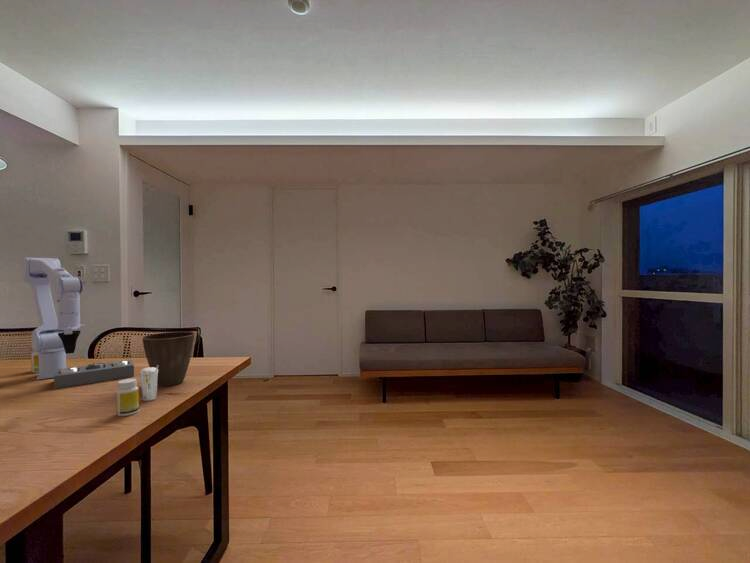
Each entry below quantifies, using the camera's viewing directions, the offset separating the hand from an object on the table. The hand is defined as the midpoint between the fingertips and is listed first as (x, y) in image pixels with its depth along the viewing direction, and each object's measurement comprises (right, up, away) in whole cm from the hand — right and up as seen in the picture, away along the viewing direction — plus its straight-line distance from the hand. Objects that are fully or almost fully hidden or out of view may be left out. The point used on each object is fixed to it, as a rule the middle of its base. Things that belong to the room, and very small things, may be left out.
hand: (70, 353), depth 118 cm
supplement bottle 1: (-24, -10, +15) cm, 30 cm away
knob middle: (+5, -9, +4) cm, 11 cm away
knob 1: (0, -9, 0) cm, 9 cm away
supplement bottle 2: (+39, -10, -27) cm, 48 cm away
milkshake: (+38, -10, -17) cm, 43 cm away
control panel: (+5, -10, +4) cm, 12 cm away
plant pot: (+35, -10, -2) cm, 36 cm away
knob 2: (+11, -9, +9) cm, 17 cm away
